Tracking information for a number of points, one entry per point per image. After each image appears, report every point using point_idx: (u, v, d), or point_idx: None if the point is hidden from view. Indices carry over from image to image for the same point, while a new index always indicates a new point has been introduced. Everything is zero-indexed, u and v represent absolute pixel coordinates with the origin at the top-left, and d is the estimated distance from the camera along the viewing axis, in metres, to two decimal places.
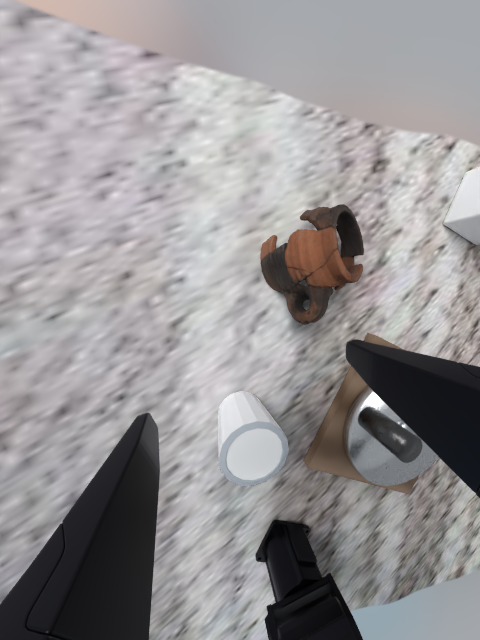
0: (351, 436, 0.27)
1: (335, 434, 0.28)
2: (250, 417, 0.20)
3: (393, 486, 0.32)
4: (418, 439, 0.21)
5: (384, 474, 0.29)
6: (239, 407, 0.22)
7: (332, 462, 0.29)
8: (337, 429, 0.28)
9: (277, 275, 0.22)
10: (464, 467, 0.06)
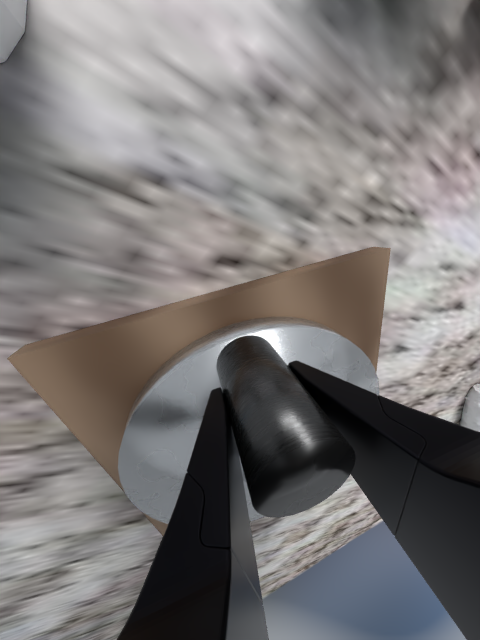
0: (179, 367, 0.10)
1: (151, 348, 0.11)
2: None
3: None
4: (349, 467, 0.06)
5: (163, 493, 0.13)
6: None
7: (87, 399, 0.11)
8: (166, 342, 0.11)
9: None
10: (385, 507, 0.06)
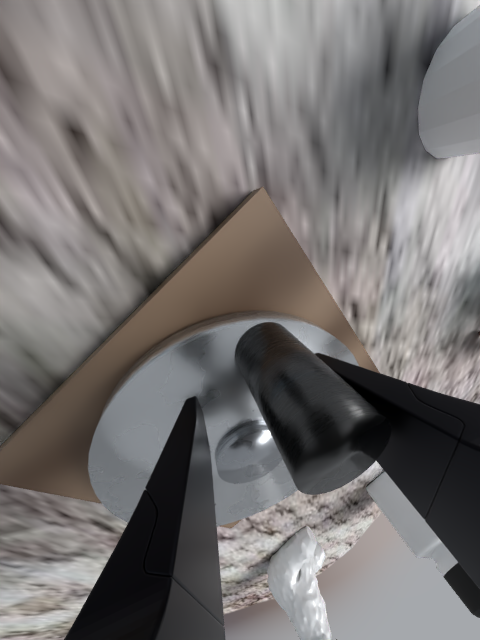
0: (201, 336, 0.09)
1: (299, 298, 0.12)
2: None
3: (35, 433, 0.10)
4: (378, 453, 0.06)
5: (128, 478, 0.11)
6: None
7: (232, 268, 0.10)
8: (306, 306, 0.12)
9: None
10: (415, 492, 0.06)
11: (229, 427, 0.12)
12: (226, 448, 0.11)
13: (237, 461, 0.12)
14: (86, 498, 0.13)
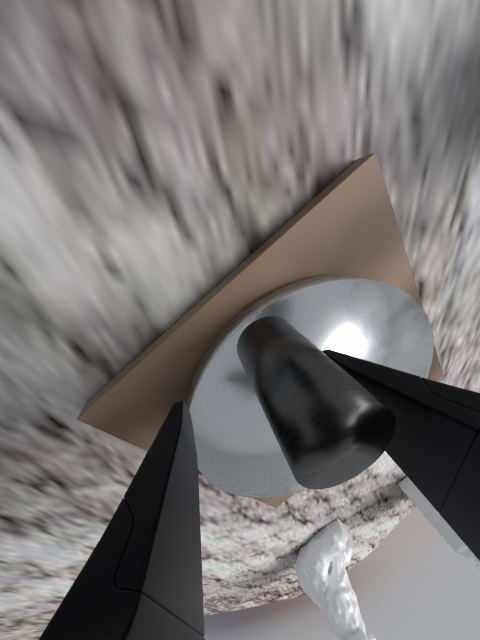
0: (206, 373, 0.10)
1: (383, 267, 0.12)
2: None
3: (137, 379, 0.11)
4: (391, 423, 0.05)
5: (245, 476, 0.14)
6: None
7: (333, 231, 0.11)
8: (388, 276, 0.13)
9: None
10: (428, 486, 0.06)
11: None
12: None
13: None
14: None
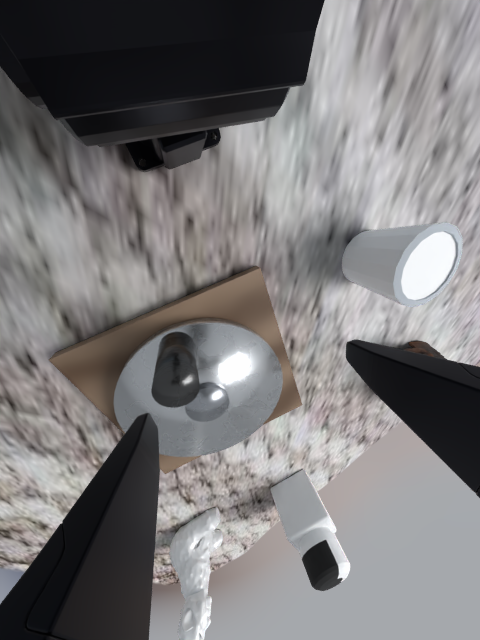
0: (138, 352, 0.18)
1: (261, 324, 0.22)
2: None
3: (96, 346, 0.18)
4: (197, 384, 0.14)
5: None
6: None
7: (233, 298, 0.20)
8: (264, 330, 0.22)
9: (434, 353, 0.29)
10: (465, 467, 0.06)
11: None
12: None
13: (197, 408, 0.21)
14: (94, 401, 0.20)
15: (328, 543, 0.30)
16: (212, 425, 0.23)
